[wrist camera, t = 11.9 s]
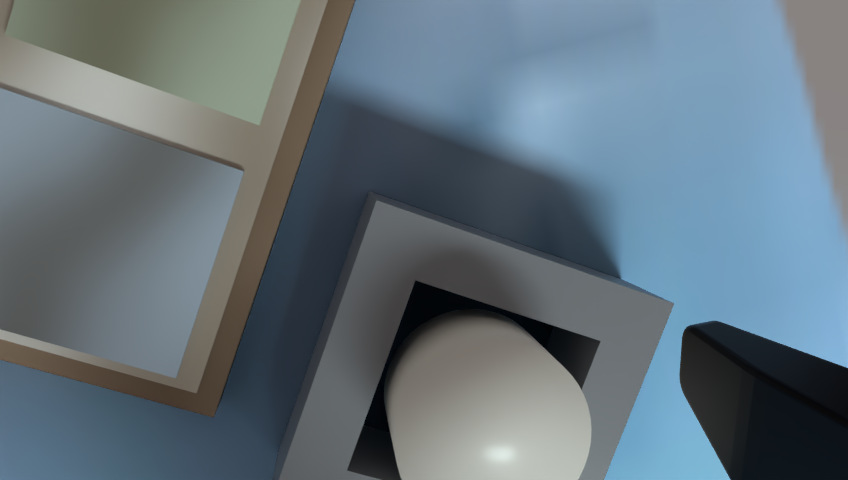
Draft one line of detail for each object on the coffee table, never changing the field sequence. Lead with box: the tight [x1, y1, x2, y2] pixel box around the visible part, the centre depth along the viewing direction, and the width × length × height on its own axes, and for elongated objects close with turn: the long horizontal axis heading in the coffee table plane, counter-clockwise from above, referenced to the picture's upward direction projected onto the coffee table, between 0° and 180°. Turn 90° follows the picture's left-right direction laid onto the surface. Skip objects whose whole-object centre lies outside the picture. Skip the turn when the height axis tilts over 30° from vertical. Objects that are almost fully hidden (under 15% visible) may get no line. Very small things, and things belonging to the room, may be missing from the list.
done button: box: [384, 309, 592, 480], centre depth 16 cm, size 4×4×3 cm
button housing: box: [273, 191, 674, 480], centre depth 18 cm, size 8×8×3 cm
